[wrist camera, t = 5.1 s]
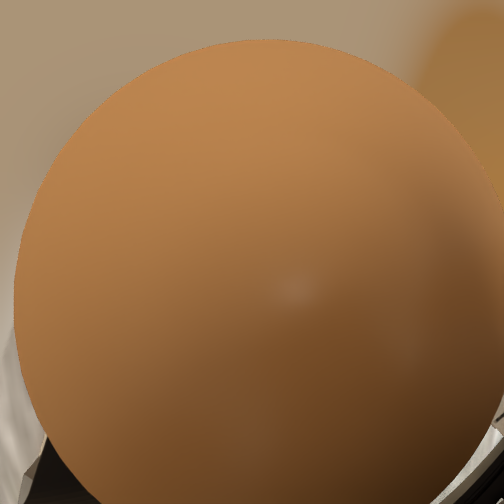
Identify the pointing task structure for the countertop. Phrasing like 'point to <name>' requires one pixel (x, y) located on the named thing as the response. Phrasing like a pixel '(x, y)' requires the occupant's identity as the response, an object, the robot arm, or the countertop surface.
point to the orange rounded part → (264, 286)
